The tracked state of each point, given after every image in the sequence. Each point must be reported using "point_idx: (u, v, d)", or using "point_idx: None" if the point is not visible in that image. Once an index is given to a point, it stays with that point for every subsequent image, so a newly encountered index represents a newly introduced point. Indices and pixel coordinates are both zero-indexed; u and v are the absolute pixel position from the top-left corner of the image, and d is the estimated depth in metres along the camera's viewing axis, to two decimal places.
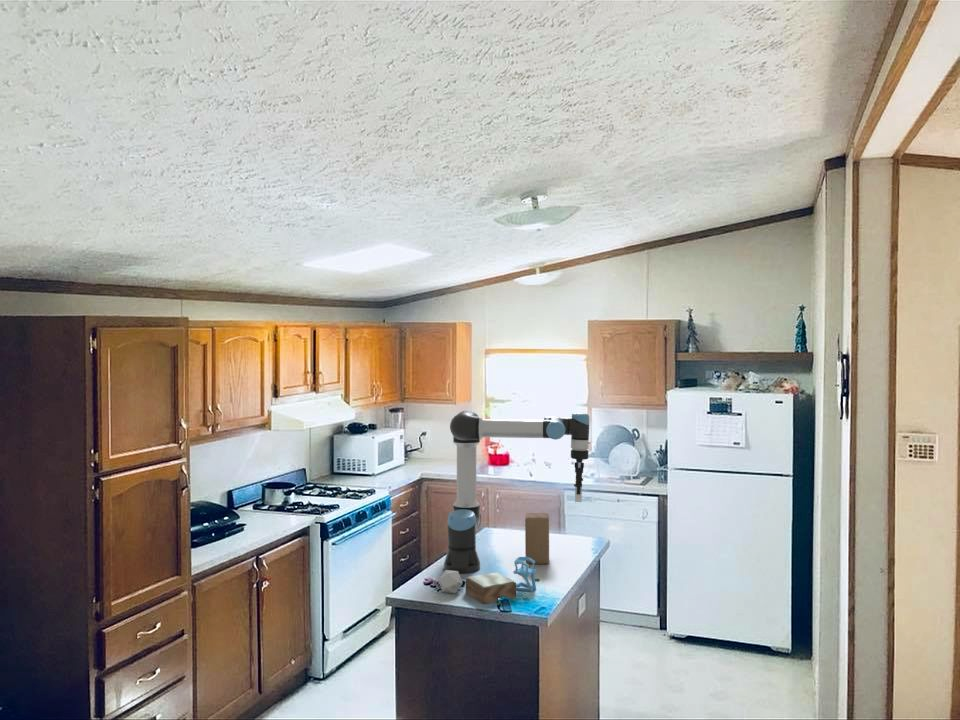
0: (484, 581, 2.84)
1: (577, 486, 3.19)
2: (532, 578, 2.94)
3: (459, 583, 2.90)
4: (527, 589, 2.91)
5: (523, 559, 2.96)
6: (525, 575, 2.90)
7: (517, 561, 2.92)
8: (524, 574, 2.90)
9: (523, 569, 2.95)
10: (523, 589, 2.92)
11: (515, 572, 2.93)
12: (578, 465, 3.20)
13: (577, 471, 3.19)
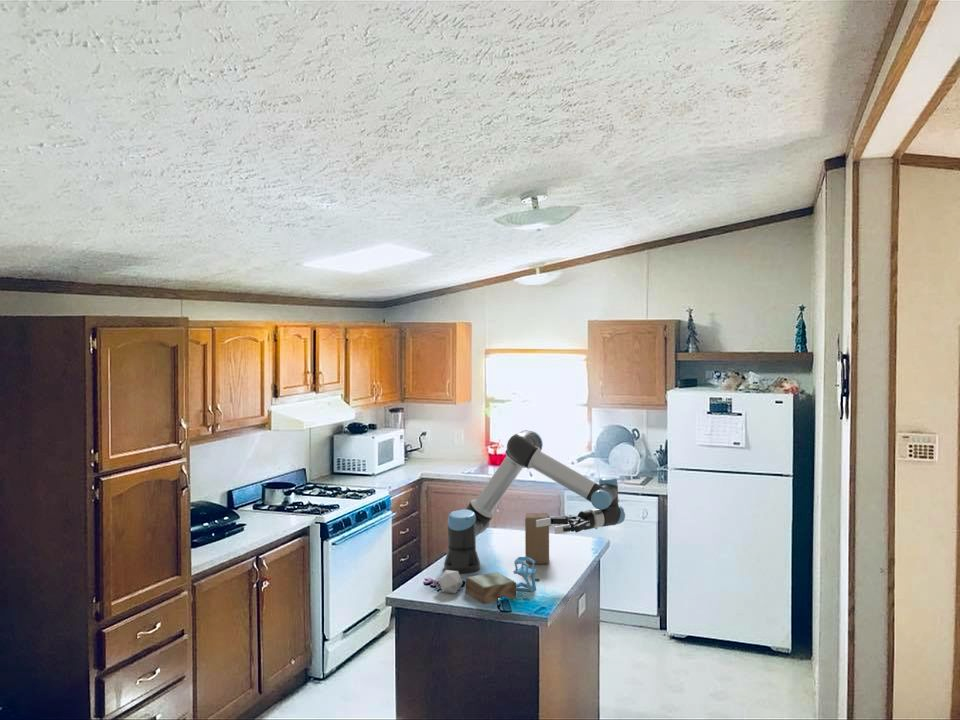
0: (484, 581, 2.84)
1: (572, 527, 2.94)
2: (532, 578, 2.94)
3: (459, 583, 2.90)
4: (527, 589, 2.91)
5: (523, 559, 2.96)
6: (525, 575, 2.90)
7: (517, 561, 2.92)
8: (524, 574, 2.90)
9: (523, 569, 2.95)
10: (523, 589, 2.92)
11: (515, 572, 2.93)
12: (588, 523, 3.00)
13: (584, 524, 2.98)
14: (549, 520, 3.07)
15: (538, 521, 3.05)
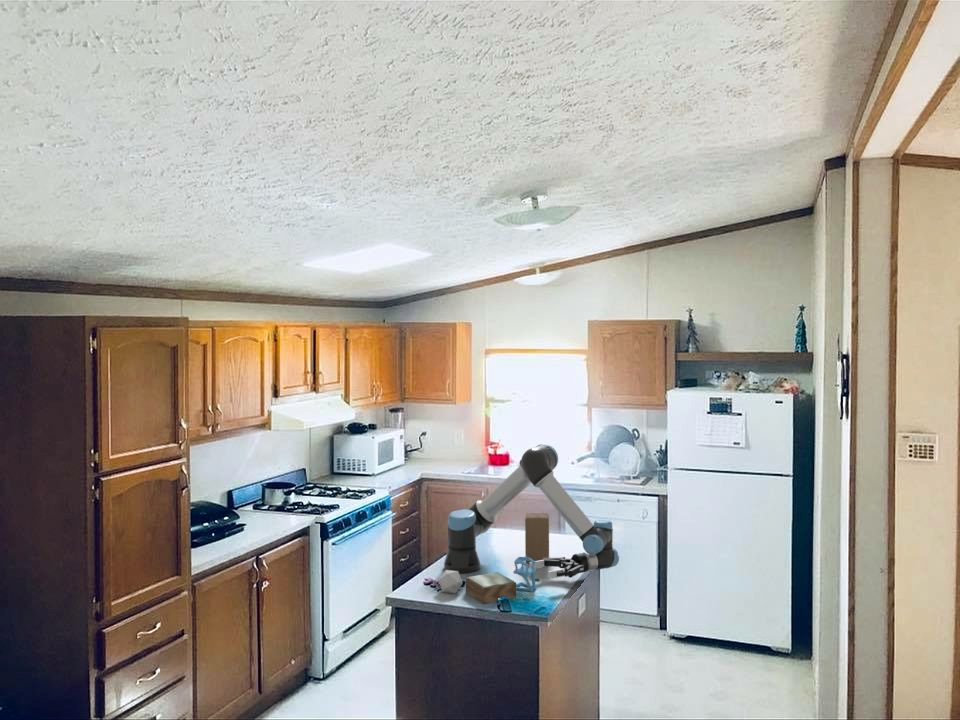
0: (484, 581, 2.84)
1: (566, 572, 2.92)
2: (532, 578, 2.94)
3: (459, 583, 2.90)
4: (527, 589, 2.91)
5: (523, 559, 2.96)
6: (525, 575, 2.90)
7: (517, 561, 2.92)
8: (524, 574, 2.90)
9: (523, 569, 2.95)
10: (523, 589, 2.92)
11: (515, 572, 2.93)
12: (581, 568, 2.98)
13: (577, 568, 2.96)
14: (542, 562, 3.05)
15: (531, 563, 3.02)
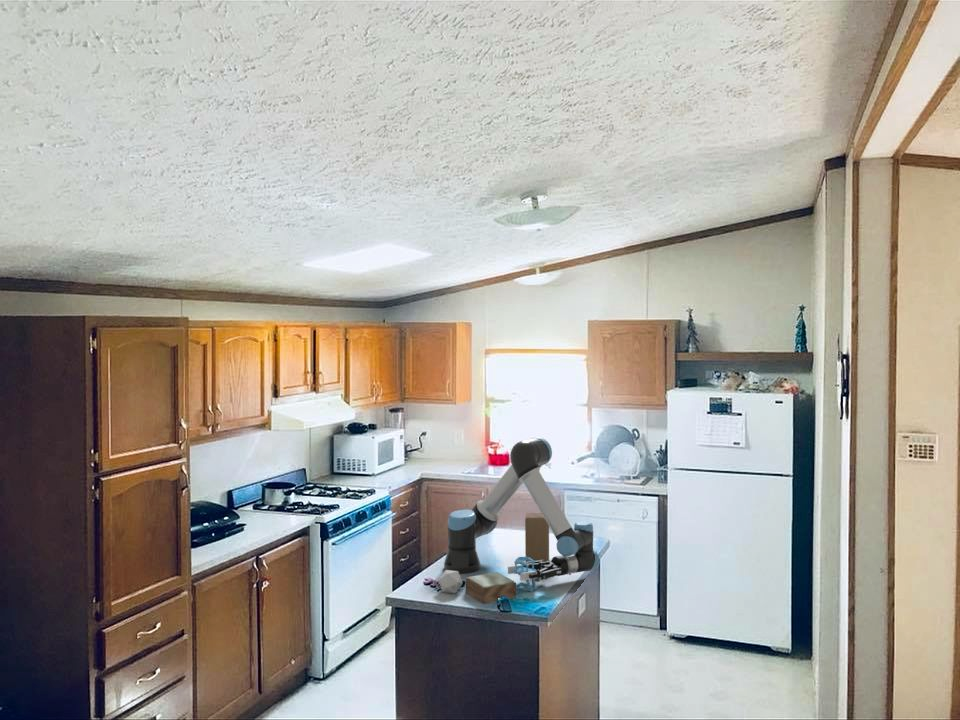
0: (484, 581, 2.84)
1: (538, 574, 2.89)
2: None
3: (459, 583, 2.90)
4: (527, 589, 2.91)
5: (523, 558, 2.96)
6: None
7: (517, 561, 2.92)
8: None
9: (523, 569, 2.95)
10: (523, 589, 2.92)
11: (515, 572, 2.93)
12: (558, 571, 2.93)
13: (553, 571, 2.92)
14: None
15: (510, 568, 2.96)
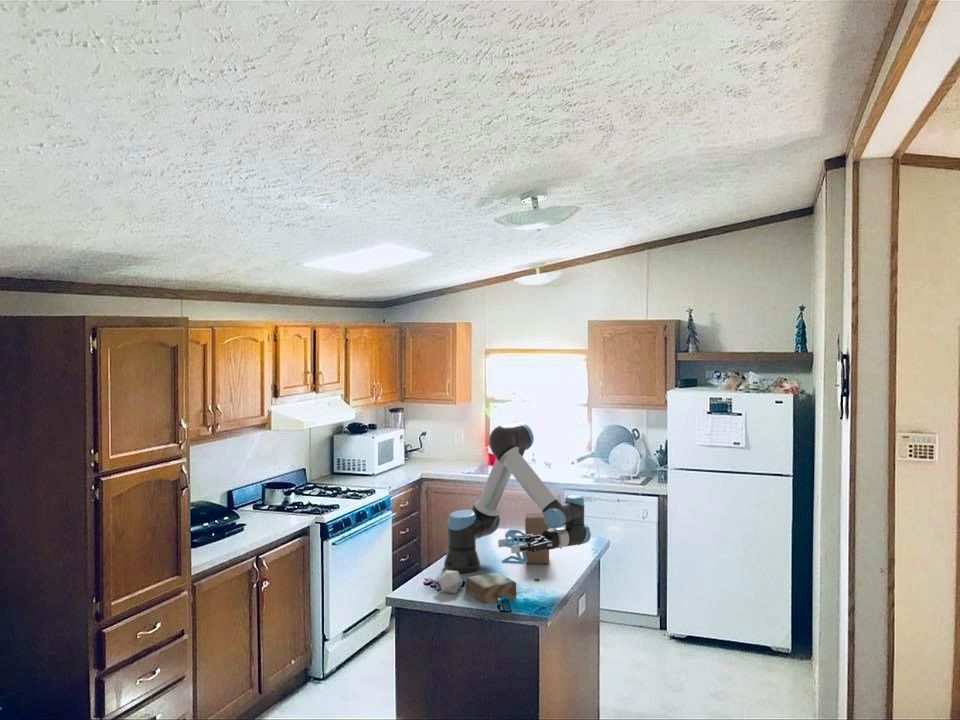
0: (484, 581, 2.84)
1: (529, 546, 2.86)
2: None
3: (459, 583, 2.90)
4: (518, 562, 2.88)
5: (514, 532, 2.93)
6: None
7: (508, 534, 2.89)
8: None
9: (514, 542, 2.92)
10: (514, 562, 2.88)
11: (506, 545, 2.89)
12: (549, 544, 2.90)
13: (544, 544, 2.89)
14: None
15: (500, 541, 2.92)
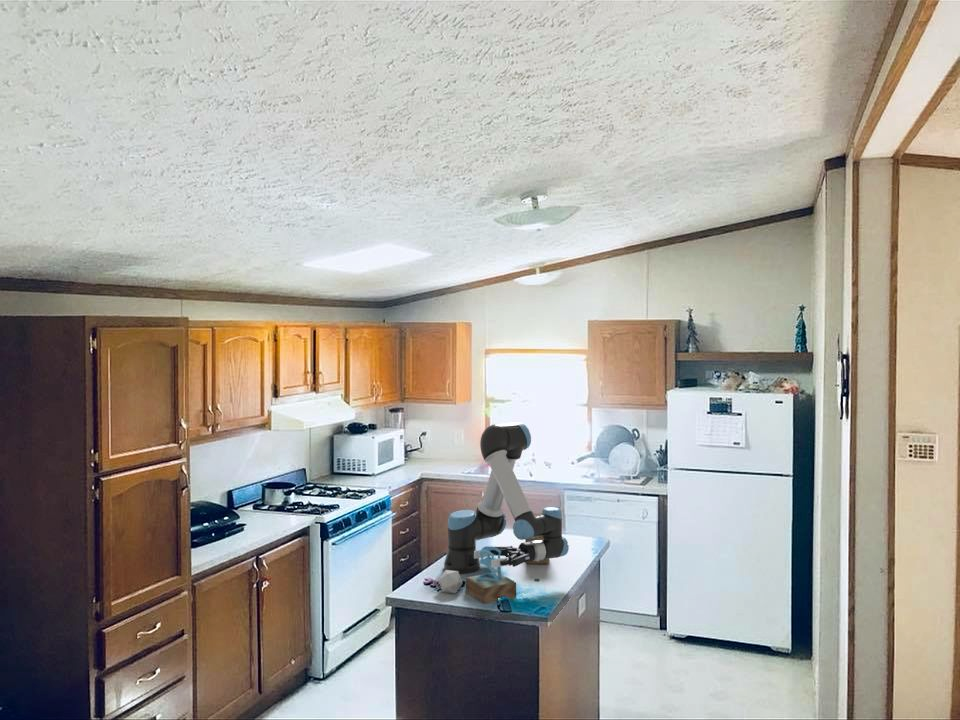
0: (484, 581, 2.84)
1: (510, 561, 2.81)
2: (498, 568, 2.87)
3: (459, 583, 2.90)
4: (492, 579, 2.84)
5: (489, 548, 2.89)
6: (490, 565, 2.83)
7: (482, 551, 2.85)
8: (489, 564, 2.83)
9: (489, 559, 2.88)
10: (488, 579, 2.84)
11: (480, 562, 2.85)
12: (527, 557, 2.86)
13: (523, 557, 2.84)
14: None
15: (476, 552, 2.91)
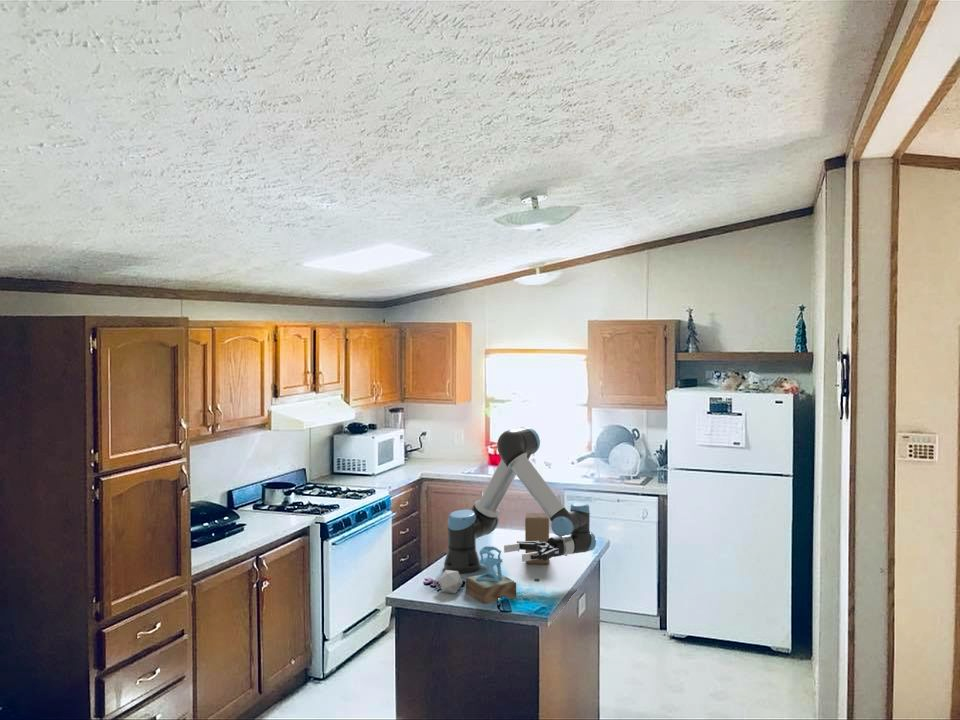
0: (484, 581, 2.84)
1: (540, 555, 2.87)
2: (498, 568, 2.87)
3: (459, 583, 2.90)
4: (492, 579, 2.84)
5: (489, 548, 2.89)
6: (490, 565, 2.83)
7: (482, 551, 2.85)
8: (489, 564, 2.83)
9: (489, 559, 2.88)
10: (488, 579, 2.84)
11: (480, 562, 2.85)
12: (556, 551, 2.92)
13: (552, 551, 2.91)
14: (518, 545, 3.00)
15: (506, 546, 2.97)
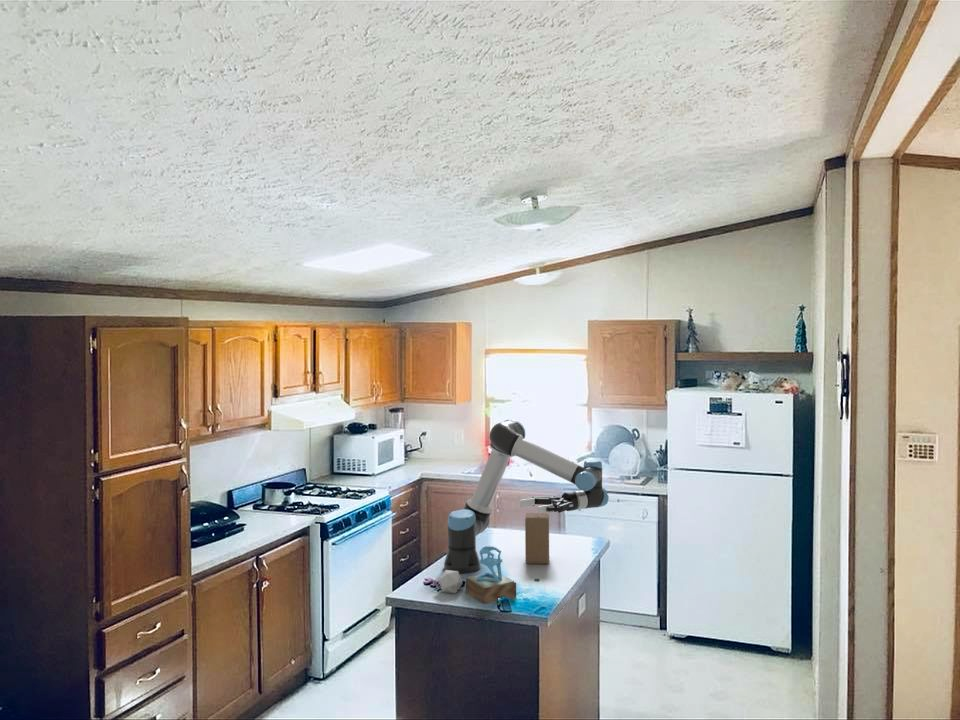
0: (484, 581, 2.84)
1: (555, 507, 2.97)
2: (498, 568, 2.87)
3: (459, 583, 2.90)
4: (492, 579, 2.84)
5: (489, 548, 2.89)
6: (490, 565, 2.83)
7: (482, 551, 2.85)
8: (489, 564, 2.83)
9: (489, 559, 2.88)
10: (488, 579, 2.84)
11: (480, 562, 2.85)
12: (571, 504, 3.02)
13: (567, 504, 3.00)
14: (533, 500, 3.10)
15: (522, 501, 3.07)
